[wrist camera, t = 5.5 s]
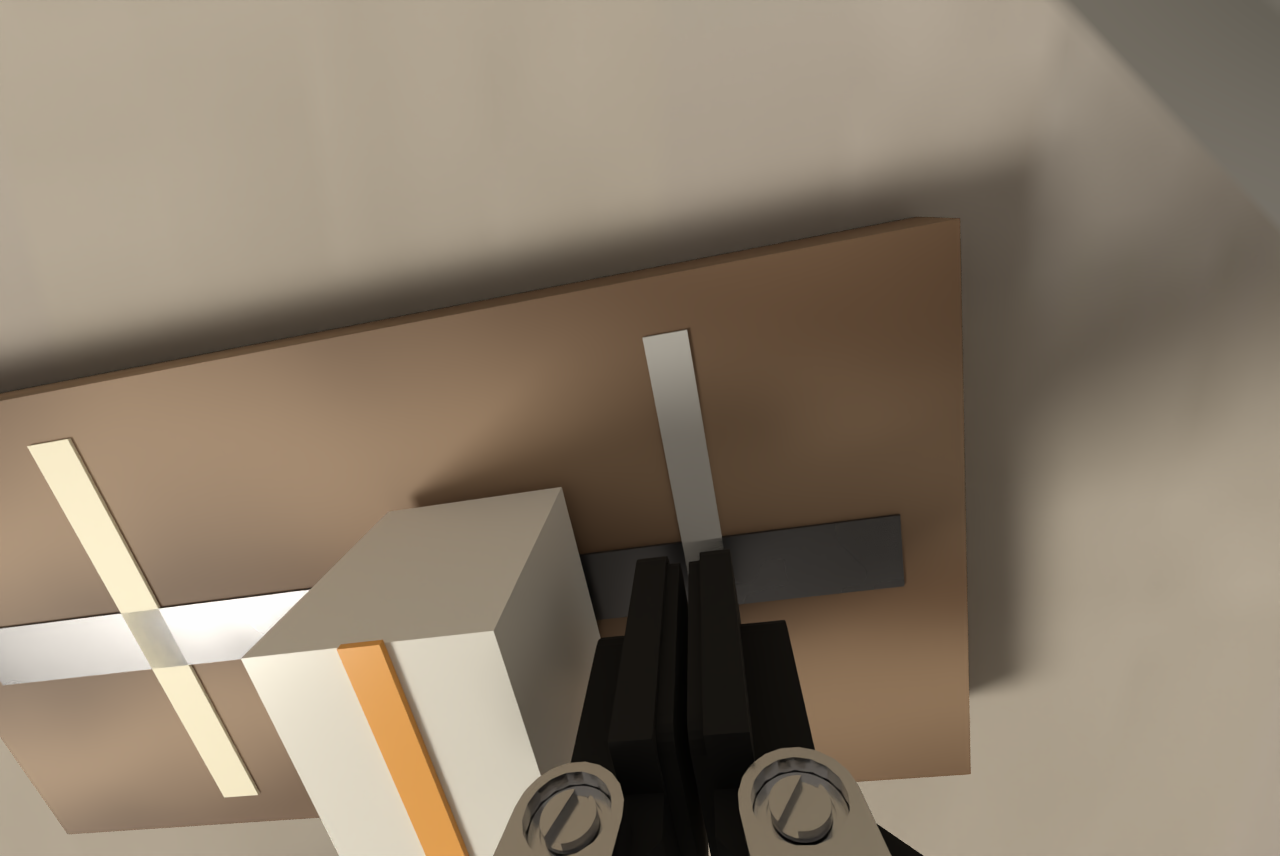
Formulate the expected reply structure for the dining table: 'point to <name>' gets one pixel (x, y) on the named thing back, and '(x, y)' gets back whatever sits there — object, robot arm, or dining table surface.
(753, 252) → the brown board with strips
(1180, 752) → the dining table surface
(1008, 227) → the dining table surface
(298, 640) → the fader
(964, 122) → the dining table surface
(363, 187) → the dining table surface
